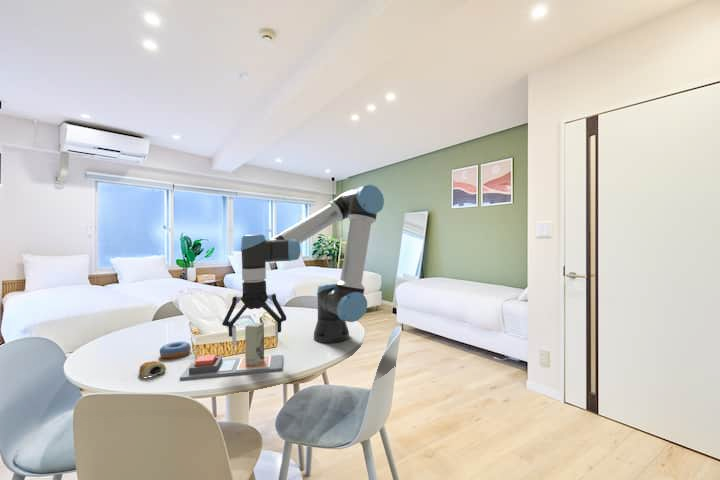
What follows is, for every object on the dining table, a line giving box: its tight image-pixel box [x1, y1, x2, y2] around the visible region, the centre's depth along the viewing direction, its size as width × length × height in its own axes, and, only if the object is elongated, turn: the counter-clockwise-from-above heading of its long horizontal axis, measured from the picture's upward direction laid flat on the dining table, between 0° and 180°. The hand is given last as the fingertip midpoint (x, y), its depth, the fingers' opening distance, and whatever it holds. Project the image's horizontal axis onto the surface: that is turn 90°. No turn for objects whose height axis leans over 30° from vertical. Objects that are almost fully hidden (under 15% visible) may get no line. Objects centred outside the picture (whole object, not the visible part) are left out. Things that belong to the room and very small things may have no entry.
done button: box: [195, 354, 217, 366], centre depth 102 cm, size 5×5×2 cm
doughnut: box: [159, 341, 192, 360], centre depth 116 cm, size 10×10×5 cm
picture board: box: [179, 354, 284, 381], centre depth 104 cm, size 30×12×3 cm, turn 103°
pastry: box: [138, 360, 167, 378], centre depth 101 cm, size 9×7×4 cm
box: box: [244, 322, 265, 366], centre depth 105 cm, size 5×4×13 cm
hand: (256, 343), depth 106 cm, fingers open, 13 cm apart
